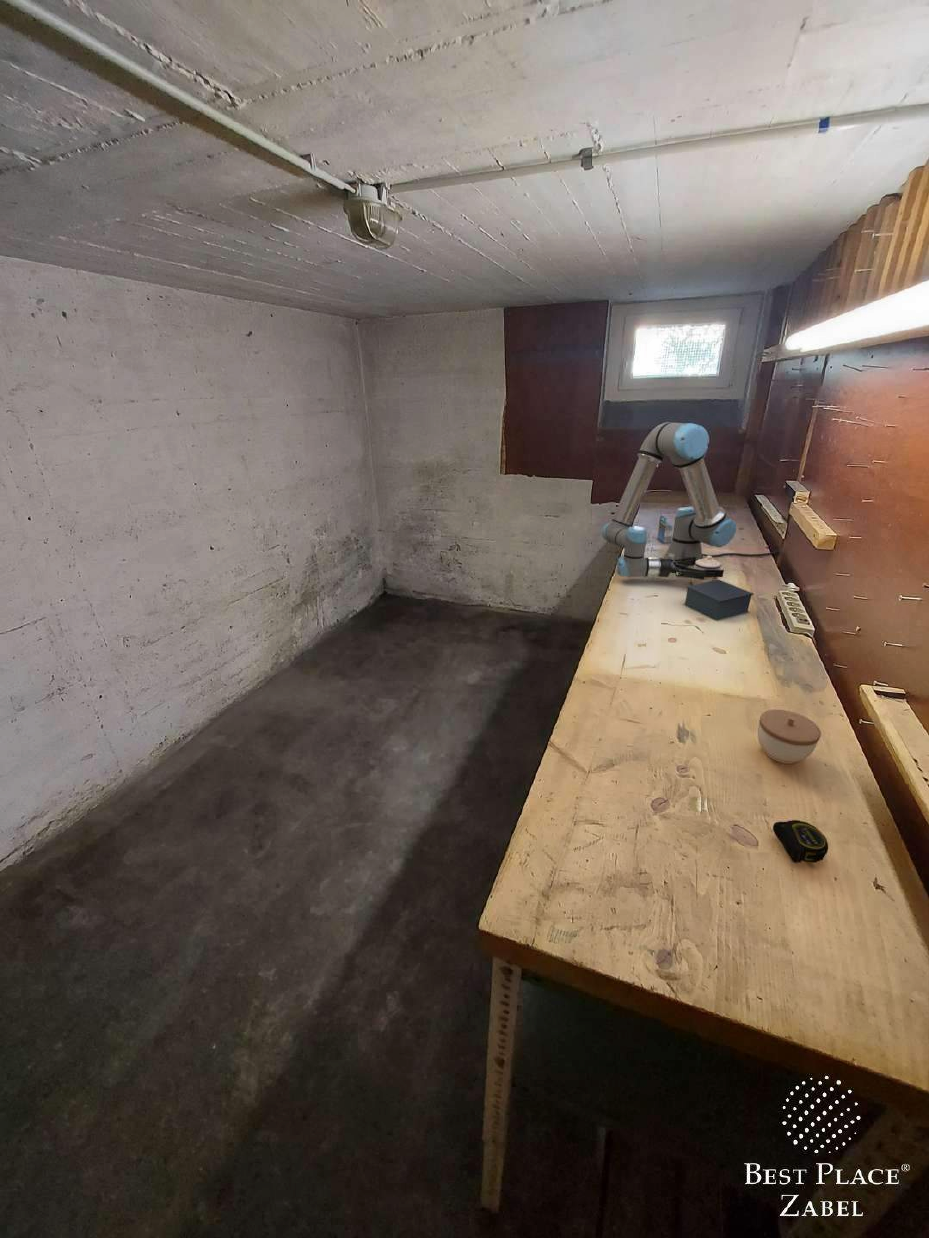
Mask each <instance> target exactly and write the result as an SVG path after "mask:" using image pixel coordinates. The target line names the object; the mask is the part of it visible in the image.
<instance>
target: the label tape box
mask: <svg viewBox="0 0 929 1238" xmlns="http://www.w3.org/2000/svg"><path fill="white" fill-rule="evenodd" d="M673 529H674V525H672V524H671V523H669V522H668V521H667V518H666V517H665V516H664V515H662V514H660V516H659V521H658V530H657V539H658V540H660V541H661V542H662V543H663V544H669V543H670V544H671V542H672V538H673Z"/></svg>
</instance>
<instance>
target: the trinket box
mask: <svg viewBox="0 0 929 1238" xmlns="http://www.w3.org/2000/svg"><path fill="white" fill-rule="evenodd" d="M758 721H759V722H758V726H757V740H758V742H759V745H760V747H761V748H762V750H763V751H764V752H765V754H766V755H767V756H768V757H769V758H770V759H772V760H774V761H776V762H779V763H781V764H789V765H790V764H795V763H797V762H802V761H804V760H806V759H808V757H810V756H811V755H812V754H813V752H814V751H815V749H816V747H817V745H818V742H819V741H820V738H821V737H822V731H821V729H820V727H819V726H818V725H817V724H816V723H815V722H814V721H813V720H811V719H810V718H809V717H807V716H805V715H803V714H800V713H797V712H794V711H791V710H786V709H769V710H765V711H763V712H762V713H761V714H760V717H759V720H758Z"/></svg>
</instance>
